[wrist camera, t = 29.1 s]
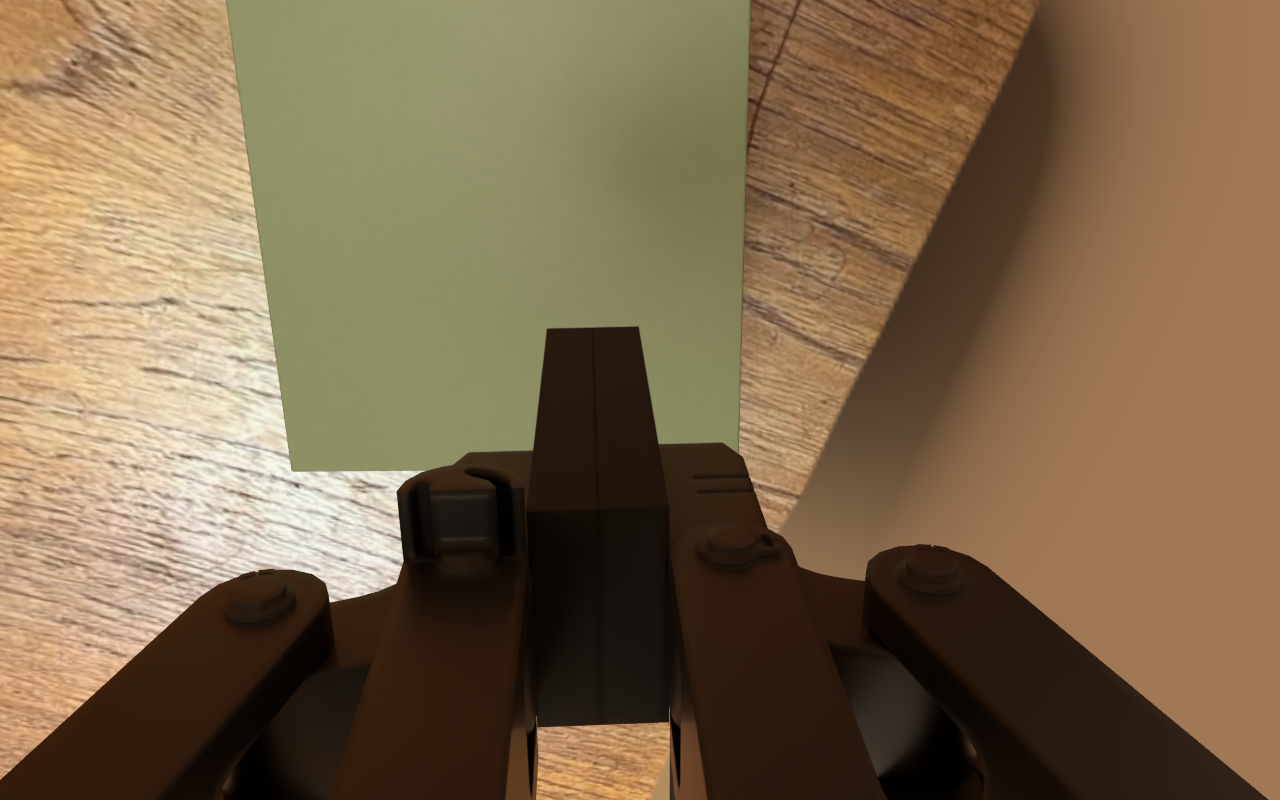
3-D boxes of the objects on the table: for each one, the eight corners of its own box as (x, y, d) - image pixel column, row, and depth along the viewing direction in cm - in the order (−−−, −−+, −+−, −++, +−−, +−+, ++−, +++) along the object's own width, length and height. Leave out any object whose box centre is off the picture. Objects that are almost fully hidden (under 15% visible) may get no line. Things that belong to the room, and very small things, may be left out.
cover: (750, -60, 29) (752, -61, 28) (736, 461, 34) (738, 468, 34) (225, -55, 29) (217, -56, 28) (296, 464, 34) (291, 472, 34)
